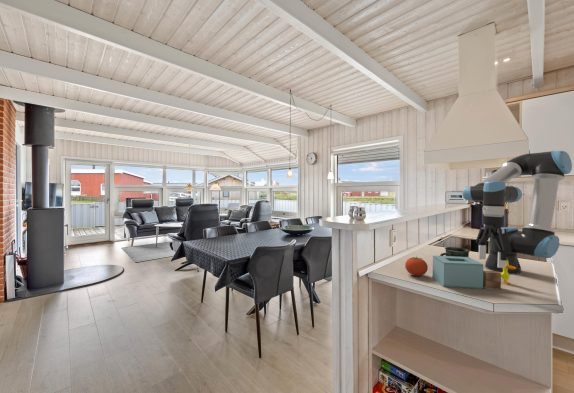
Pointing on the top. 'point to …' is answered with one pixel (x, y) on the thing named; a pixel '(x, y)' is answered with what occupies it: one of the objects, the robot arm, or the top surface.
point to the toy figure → (505, 274)
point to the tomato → (416, 266)
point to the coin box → (458, 272)
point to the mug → (456, 252)
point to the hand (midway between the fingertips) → (491, 263)
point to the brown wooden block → (492, 279)
